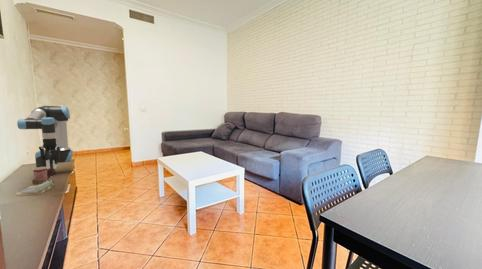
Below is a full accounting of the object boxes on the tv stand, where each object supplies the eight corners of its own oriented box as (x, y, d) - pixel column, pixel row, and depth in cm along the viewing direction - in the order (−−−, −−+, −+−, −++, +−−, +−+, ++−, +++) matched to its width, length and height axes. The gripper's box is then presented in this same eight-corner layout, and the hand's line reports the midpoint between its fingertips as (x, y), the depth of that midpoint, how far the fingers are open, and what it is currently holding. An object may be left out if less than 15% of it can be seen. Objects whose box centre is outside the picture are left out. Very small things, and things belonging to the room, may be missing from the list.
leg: (48, 183, 174) (47, 179, 173) (53, 183, 175) (53, 178, 174) (35, 191, 159) (34, 185, 159) (41, 190, 160) (40, 185, 160)
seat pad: (27, 187, 166) (27, 187, 166) (44, 187, 168) (43, 186, 168) (16, 193, 155) (16, 193, 155) (34, 192, 158) (34, 192, 158)
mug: (37, 186, 174) (35, 170, 172) (31, 184, 177) (30, 168, 176) (56, 181, 185) (54, 166, 183) (50, 179, 189) (49, 165, 187)
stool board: (34, 186, 173) (33, 179, 172) (54, 185, 176) (53, 178, 175) (16, 196, 155) (15, 188, 155) (39, 194, 159) (38, 187, 158)
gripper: (32, 138, 155) (35, 170, 158) (59, 139, 158) (61, 169, 162) (39, 137, 162) (42, 167, 165) (65, 137, 166) (67, 166, 169)
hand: (51, 168), depth 163 cm, fingers open, 4 cm apart
